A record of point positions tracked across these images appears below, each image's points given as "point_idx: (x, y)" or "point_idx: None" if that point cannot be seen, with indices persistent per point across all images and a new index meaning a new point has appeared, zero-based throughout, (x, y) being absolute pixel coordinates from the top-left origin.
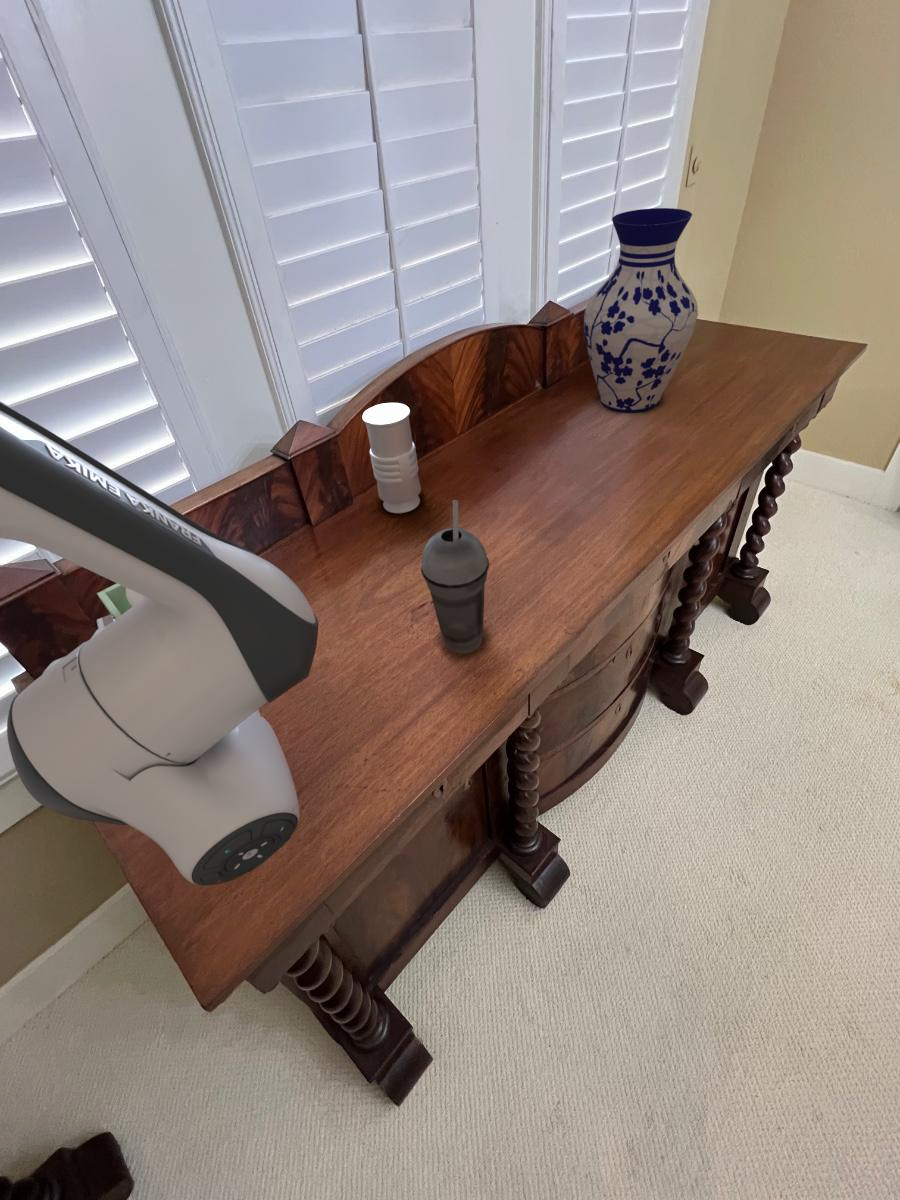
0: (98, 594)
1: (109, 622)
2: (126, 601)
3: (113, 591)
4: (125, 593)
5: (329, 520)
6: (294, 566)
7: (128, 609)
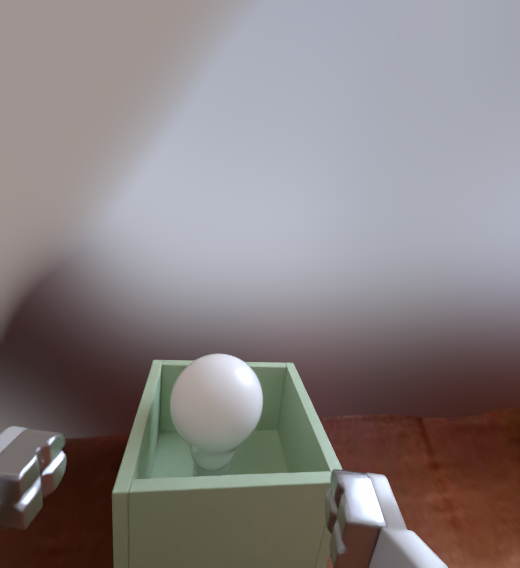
0: (153, 362)
1: (10, 465)
2: None
3: (171, 368)
4: None
5: (444, 418)
6: (395, 461)
7: None
